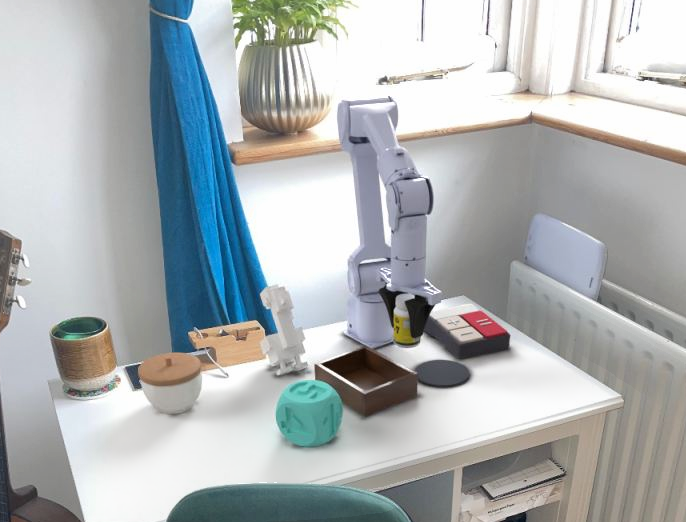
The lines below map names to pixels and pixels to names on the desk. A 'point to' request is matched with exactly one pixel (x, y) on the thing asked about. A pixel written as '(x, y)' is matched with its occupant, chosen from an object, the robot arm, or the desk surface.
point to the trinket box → (171, 381)
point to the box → (367, 380)
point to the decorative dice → (309, 413)
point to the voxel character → (282, 331)
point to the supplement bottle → (403, 324)
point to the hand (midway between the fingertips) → (406, 331)
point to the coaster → (442, 373)
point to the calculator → (467, 331)
